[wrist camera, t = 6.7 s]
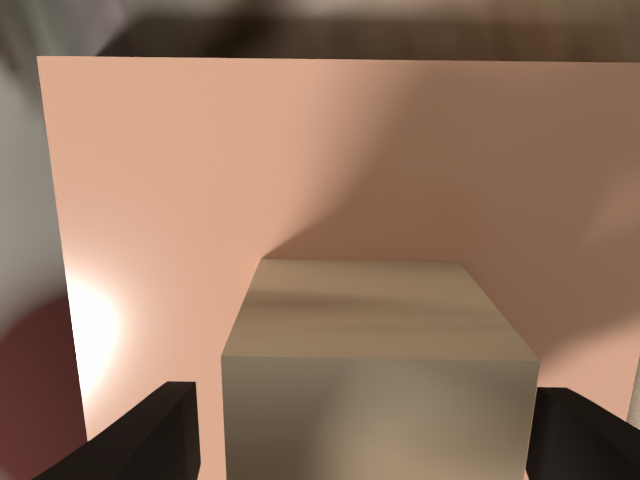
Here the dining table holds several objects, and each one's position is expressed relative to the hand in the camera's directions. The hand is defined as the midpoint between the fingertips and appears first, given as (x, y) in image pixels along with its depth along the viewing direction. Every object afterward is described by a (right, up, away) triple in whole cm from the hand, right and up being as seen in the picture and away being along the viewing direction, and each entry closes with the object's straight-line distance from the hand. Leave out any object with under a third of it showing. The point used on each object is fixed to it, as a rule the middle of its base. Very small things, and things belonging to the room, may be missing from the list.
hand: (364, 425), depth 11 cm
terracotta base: (0, +1, +5) cm, 5 cm away
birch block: (0, +1, +3) cm, 3 cm away
